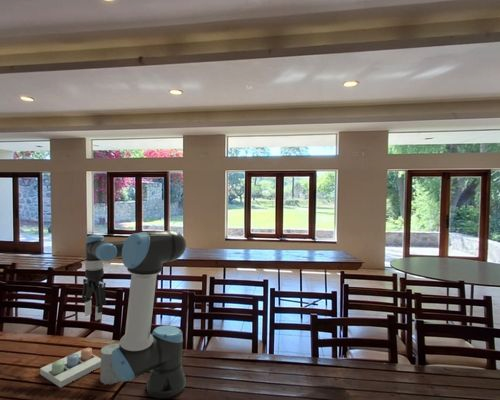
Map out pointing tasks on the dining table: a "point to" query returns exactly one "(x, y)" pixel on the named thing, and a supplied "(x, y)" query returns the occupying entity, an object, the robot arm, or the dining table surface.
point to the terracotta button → (86, 354)
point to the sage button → (57, 367)
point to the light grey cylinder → (108, 364)
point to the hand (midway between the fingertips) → (93, 317)
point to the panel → (71, 370)
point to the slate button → (72, 360)
